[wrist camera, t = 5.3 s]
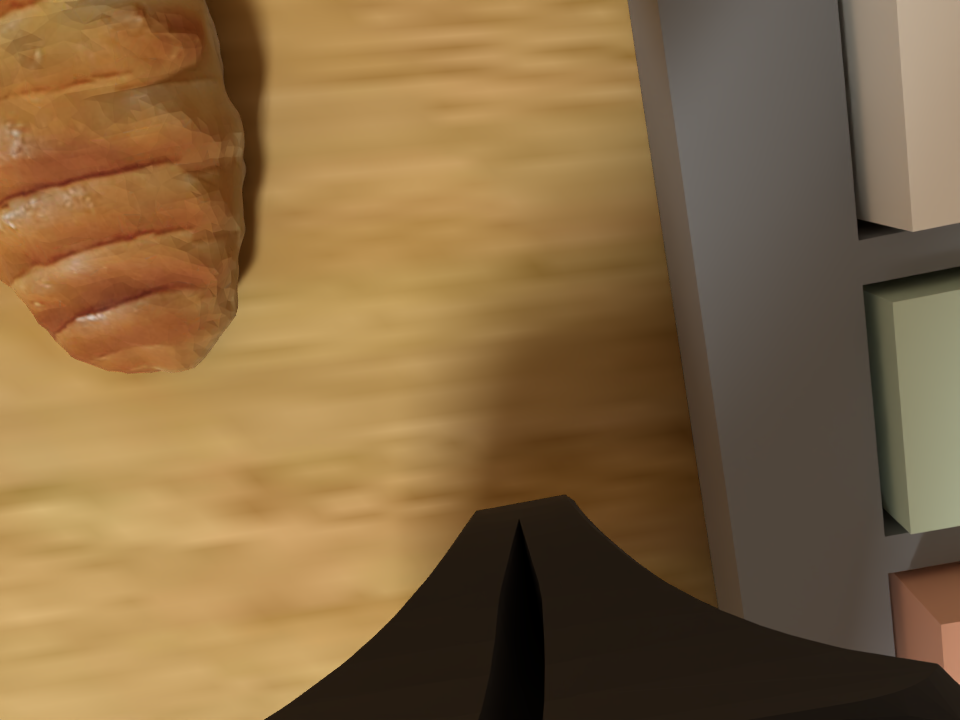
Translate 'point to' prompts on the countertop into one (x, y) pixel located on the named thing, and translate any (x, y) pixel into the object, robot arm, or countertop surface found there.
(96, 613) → the countertop surface
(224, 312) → the pastry
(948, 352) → the sage button
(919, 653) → the terracotta button
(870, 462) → the panel
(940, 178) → the cream button
